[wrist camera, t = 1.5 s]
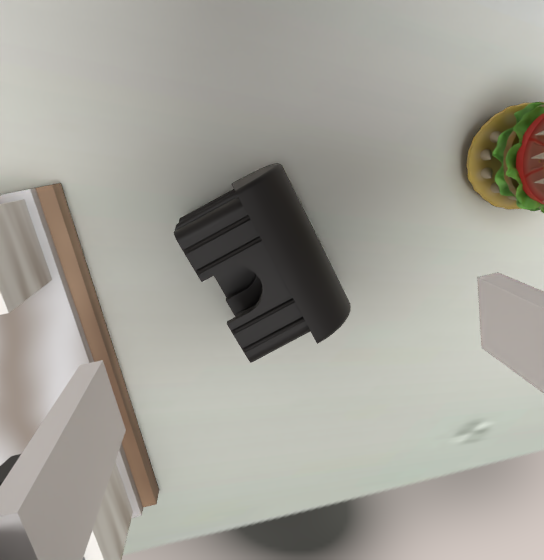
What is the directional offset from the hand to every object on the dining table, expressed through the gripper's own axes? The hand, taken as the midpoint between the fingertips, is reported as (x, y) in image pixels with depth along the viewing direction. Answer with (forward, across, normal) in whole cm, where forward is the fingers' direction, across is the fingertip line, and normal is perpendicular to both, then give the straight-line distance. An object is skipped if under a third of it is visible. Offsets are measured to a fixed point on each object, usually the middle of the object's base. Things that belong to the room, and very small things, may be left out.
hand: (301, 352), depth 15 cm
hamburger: (+16, +18, +3) cm, 25 cm away
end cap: (+17, 0, 0) cm, 17 cm away
